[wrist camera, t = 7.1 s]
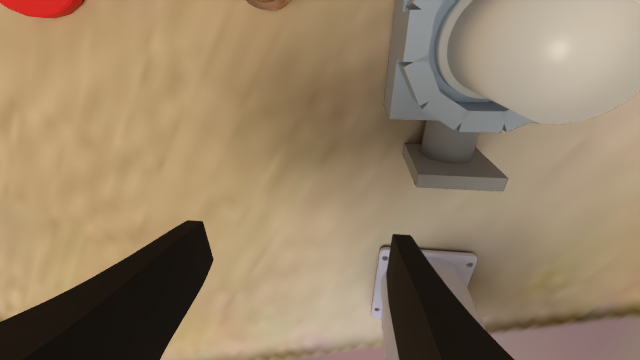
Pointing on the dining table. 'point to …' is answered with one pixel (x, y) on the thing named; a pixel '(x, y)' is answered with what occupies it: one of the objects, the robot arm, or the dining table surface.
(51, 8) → the tow hook
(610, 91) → the cylinder
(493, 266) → the dining table surface
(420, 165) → the valve
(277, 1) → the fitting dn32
